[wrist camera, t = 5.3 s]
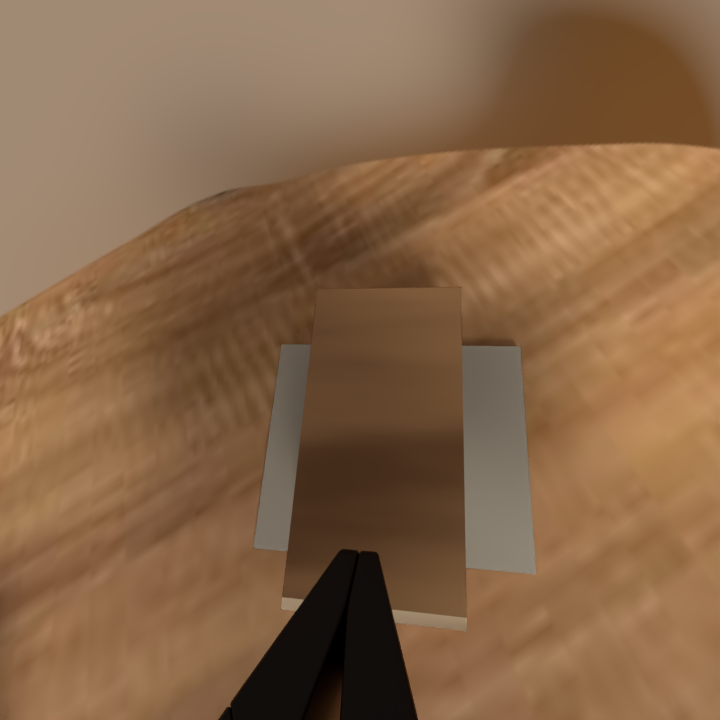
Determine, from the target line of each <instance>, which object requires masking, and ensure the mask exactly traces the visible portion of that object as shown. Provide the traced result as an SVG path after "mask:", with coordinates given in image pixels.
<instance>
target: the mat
mask: <svg viewBox="0 0 720 720" xmlns="http://www.w3.org/2000/svg"><path fill="white" fill-rule="evenodd" d="M310 348H311V344H281V351H280V358H279V365H278V373H277V380H276V387H275V394H274V402H273V409H272V416H271V423H270V431H269V438H268V445H267V452H266V460H265V467H264V474H263V481H262V489H261V496H260V503H259V510H258V518H257V525H256V532H255V539H254V547H253V548H256V549H267V550H278V551H288V542H289V533H290V524H291V516H292V507H293V498H294V489H295V480H296V471H297V463H298V454H299V445H300V436H301V427H302V419H303V410H304V401H305V392H306V383H307V375H308V366H309V357H310ZM462 374H463V431H464V488H465V545H466V568H473V569H484V570H495V571H505V572H516V573H527V574H536V564H535V550H534V536H533V521H532V507H531V492H530V478H529V463H528V449H527V435H526V420H525V406H524V391H523V377H522V362H521V348H520V346H462Z"/></svg>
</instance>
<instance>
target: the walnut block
mask: <svg viewBox="0 0 720 720" xmlns="http://www.w3.org/2000/svg"><path fill="white" fill-rule="evenodd" d="M341 549H351V550H357V551H358V552H359V553H360V552H361V551H373V552H377V553H378V555H379V558H380V562H381V566H382V570H383V575H384V579H385V583H386V587H387V591H388V596H389V600H390V604H391V608H392V612H393V616H394V621H395V623H400V624H409V625H417V626H426V627H434V628H443V629H452V630H460V631H467V602H466V545H465V488H464V431H463V374H462V317H461V287H428V288H351V289H317V295H316V304H315V313H314V322H313V331H312V339H311V348H310V357H309V366H308V375H307V383H306V392H305V401H304V410H303V419H302V427H301V436H300V445H299V454H298V463H297V471H296V480H295V489H294V498H293V507H292V516H291V524H290V533H289V542H288V551H287V560H286V568H285V577H284V586H283V595H282V604H281V610H290V611H296V610H297V609H298V608H299V606H300V605H301V603H302V602H303V601H304V599H305V598H306V596H307V595H308V594H309V592H310V591H311V589H312V588H313V587H314V585H315V584H316V582H317V581H318V580H319V578H320V577H321V575H322V574H323V573H324V571H325V570H326V568H327V567H328V566H329V564H330V563H331V561H332V560H333V559H334V557H335V556H336V554H337V553H338V552H339V551H340V550H341Z"/></svg>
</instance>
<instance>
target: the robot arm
mask: <svg viewBox="0 0 720 720" xmlns="http://www.w3.org/2000/svg"><path fill="white" fill-rule="evenodd" d="M230 705H231V708H230V707H227V708H226V709H225V711H224V712H223V714H222V715H221V716H220V718H219V719H218V720H418V717H417V713H416V708H415V704H414V700H413V696H412V692H411V688H410V683H409V679H408V675H407V671H406V667H405V662H404V658H403V654H402V650H401V646H400V642H399V637H398V633H397V629H396V625H395V621H394V616H393V612H392V608H391V604H390V600H389V596H388V591H387V587H386V583H385V579H384V575H383V570H382V566H381V562H380V558H379V555H378V553H377V552H373V551H361V552H360V553H359V552H358V551H357V550H351V549H341V550H340V551H339V552H338V553H337V554H336V556H335V557H334V559H333V560H332V561H331V563H330V564H329V566H328V567H327V568H326V570H325V571H324V573H323V574H322V575H321V577H320V578H319V580H318V581H317V582H316V584H315V585H314V587H313V588H312V589H311V591H310V592H309V594H308V595H307V596H306V598H305V599H304V601H303V602H302V603H301V605H300V606H299V608H298V609H297V610H296V612H295V613H294V615H293V616H292V617H291V619H290V620H289V622H288V623H287V624H286V626H285V627H284V629H283V630H282V631H281V633H280V634H279V636H278V637H277V638H276V640H275V641H274V643H273V644H272V645H271V647H270V648H269V650H268V651H267V652H266V654H265V655H264V657H263V658H262V659H261V661H260V662H259V663H258V665H257V666H256V668H255V669H254V670H253V672H252V673H251V675H250V676H249V677H248V679H247V680H246V682H245V683H244V684H243V686H242V687H241V689H240V690H239V691H238V693H237V694H236V696H235V697H234V698H233V700H232V701H231V704H230Z"/></svg>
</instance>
